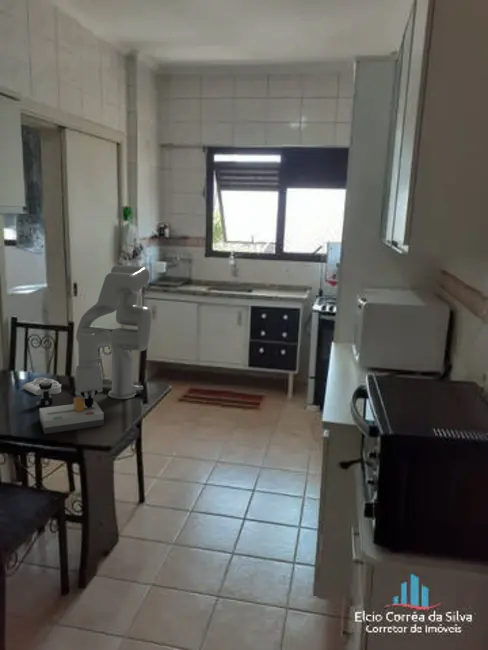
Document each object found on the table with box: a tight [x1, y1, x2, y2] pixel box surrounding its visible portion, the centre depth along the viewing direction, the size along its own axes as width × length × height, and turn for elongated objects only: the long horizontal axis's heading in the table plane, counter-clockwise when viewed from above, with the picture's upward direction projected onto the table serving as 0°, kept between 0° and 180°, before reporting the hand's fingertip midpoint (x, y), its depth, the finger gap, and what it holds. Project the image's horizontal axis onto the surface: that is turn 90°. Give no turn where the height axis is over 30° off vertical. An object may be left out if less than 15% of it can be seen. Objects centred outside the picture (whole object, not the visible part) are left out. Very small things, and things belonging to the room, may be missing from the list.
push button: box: [36, 381, 53, 406], centre depth 216 cm, size 7×5×10 cm
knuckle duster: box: [22, 377, 62, 396], centre depth 235 cm, size 3×18×15 cm
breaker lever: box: [73, 396, 85, 412], centre depth 200 cm, size 3×5×6 cm, turn 29°
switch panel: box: [39, 401, 105, 435], centre depth 201 cm, size 22×16×5 cm
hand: (89, 406), depth 202 cm, fingers closed
